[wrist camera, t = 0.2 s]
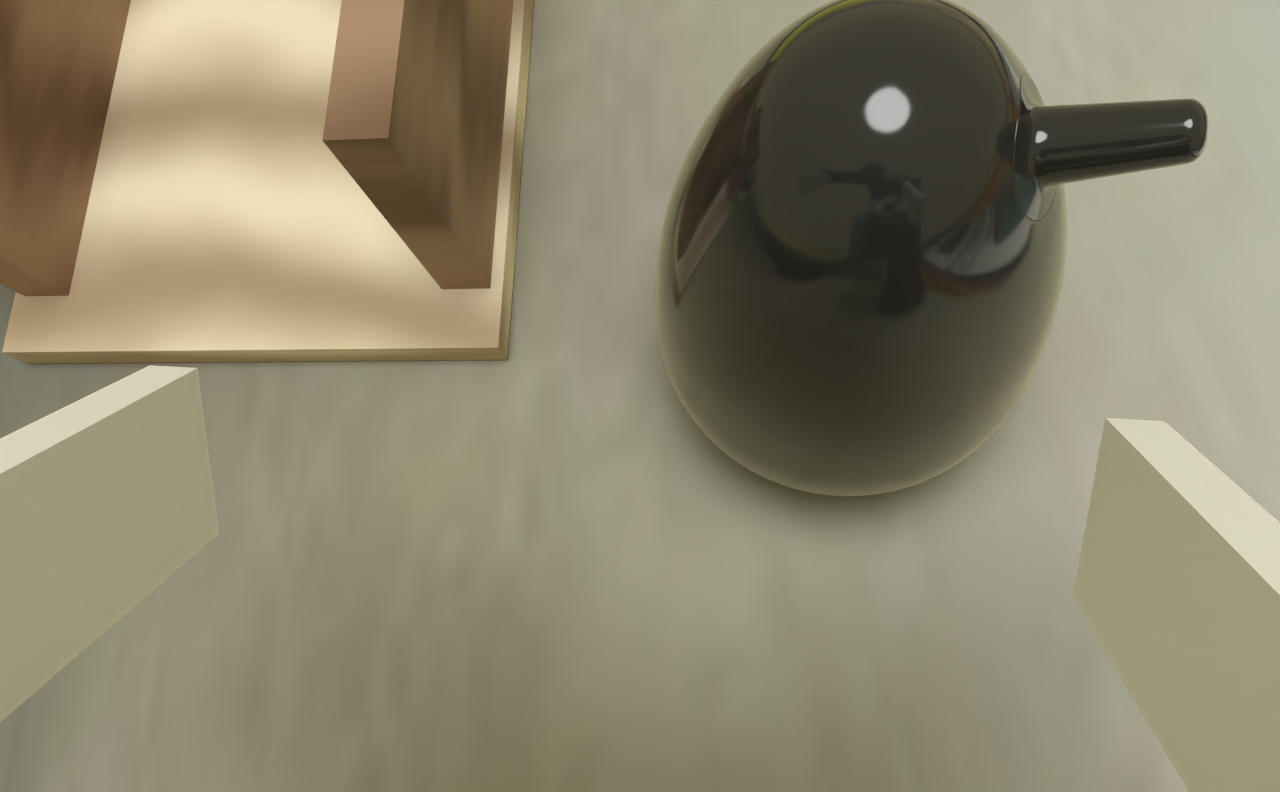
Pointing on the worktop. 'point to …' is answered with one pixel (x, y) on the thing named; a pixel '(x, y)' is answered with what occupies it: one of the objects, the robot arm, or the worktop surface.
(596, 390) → the worktop surface
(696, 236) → the pump dispenser
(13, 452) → the robot arm
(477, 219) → the caddy
